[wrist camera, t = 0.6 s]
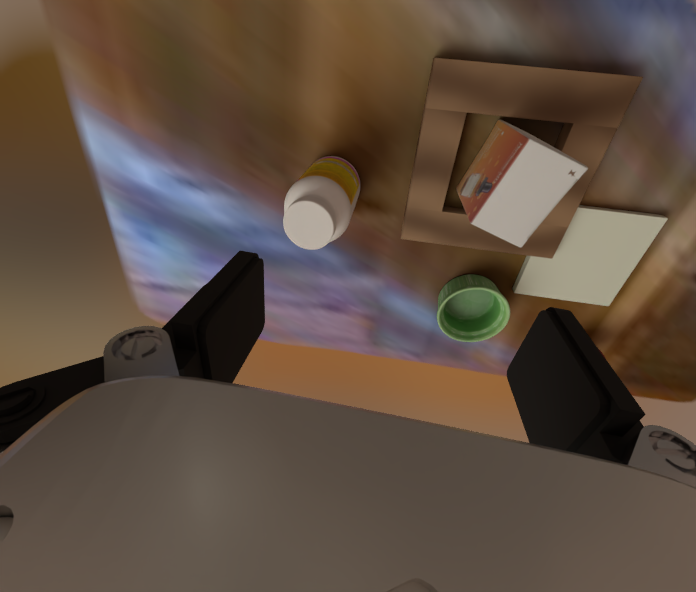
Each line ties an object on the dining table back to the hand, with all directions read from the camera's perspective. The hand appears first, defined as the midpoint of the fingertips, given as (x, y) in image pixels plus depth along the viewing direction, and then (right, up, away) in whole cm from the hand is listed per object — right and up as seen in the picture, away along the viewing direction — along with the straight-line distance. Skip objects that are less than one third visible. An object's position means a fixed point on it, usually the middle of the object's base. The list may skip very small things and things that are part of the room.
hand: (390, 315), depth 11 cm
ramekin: (+15, +1, +35) cm, 38 cm away
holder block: (+15, +15, +25) cm, 32 cm away
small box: (+15, +15, +25) cm, 33 cm away
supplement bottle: (-3, +14, +28) cm, 32 cm away
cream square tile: (+27, +6, +29) cm, 40 cm away
